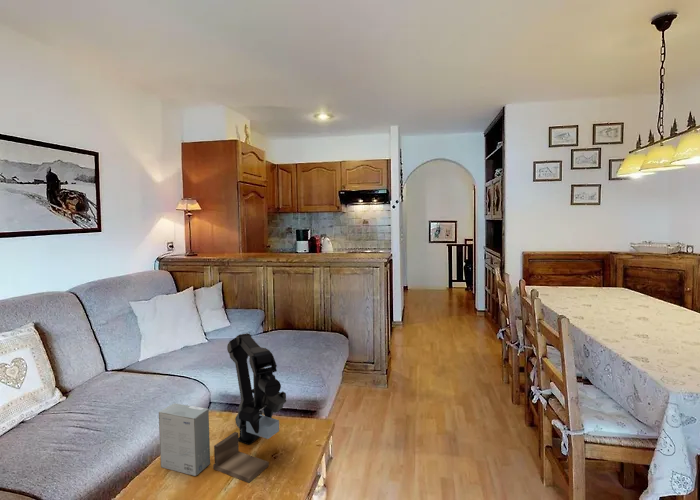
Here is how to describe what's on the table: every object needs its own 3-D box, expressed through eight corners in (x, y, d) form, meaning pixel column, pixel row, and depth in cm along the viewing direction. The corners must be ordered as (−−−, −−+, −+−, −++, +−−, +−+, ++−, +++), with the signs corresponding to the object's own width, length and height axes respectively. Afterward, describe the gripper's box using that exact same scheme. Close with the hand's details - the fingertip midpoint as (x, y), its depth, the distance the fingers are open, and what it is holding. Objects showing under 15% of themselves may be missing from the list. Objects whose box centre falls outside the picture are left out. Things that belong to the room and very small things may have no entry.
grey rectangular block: (246, 431, 139) (246, 420, 138) (257, 424, 144) (257, 413, 144) (268, 439, 134) (267, 427, 134) (279, 431, 139) (279, 420, 139)
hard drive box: (211, 463, 136) (209, 408, 135) (196, 477, 129) (194, 419, 128) (176, 455, 141) (174, 402, 140) (159, 467, 134) (157, 411, 133)
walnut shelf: (213, 468, 133) (212, 445, 133) (234, 453, 142) (233, 431, 142) (249, 482, 126) (248, 457, 126) (268, 465, 135) (268, 442, 135)
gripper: (263, 401, 126) (264, 447, 127) (295, 380, 143) (295, 421, 144) (237, 395, 131) (238, 439, 132) (270, 375, 147) (271, 415, 149)
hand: (262, 428), depth 139 cm, fingers closed on grey rectangular block, 6 cm apart
